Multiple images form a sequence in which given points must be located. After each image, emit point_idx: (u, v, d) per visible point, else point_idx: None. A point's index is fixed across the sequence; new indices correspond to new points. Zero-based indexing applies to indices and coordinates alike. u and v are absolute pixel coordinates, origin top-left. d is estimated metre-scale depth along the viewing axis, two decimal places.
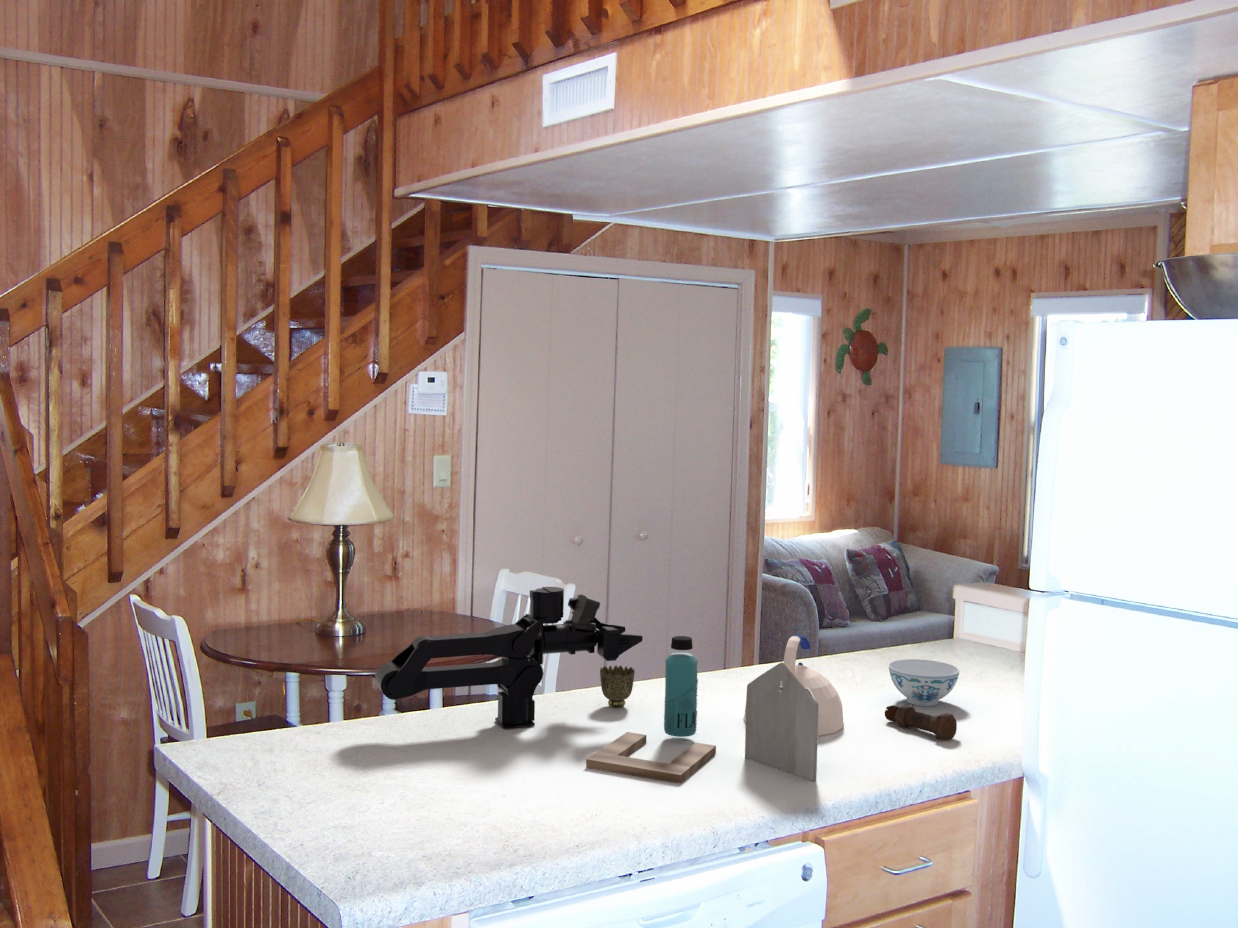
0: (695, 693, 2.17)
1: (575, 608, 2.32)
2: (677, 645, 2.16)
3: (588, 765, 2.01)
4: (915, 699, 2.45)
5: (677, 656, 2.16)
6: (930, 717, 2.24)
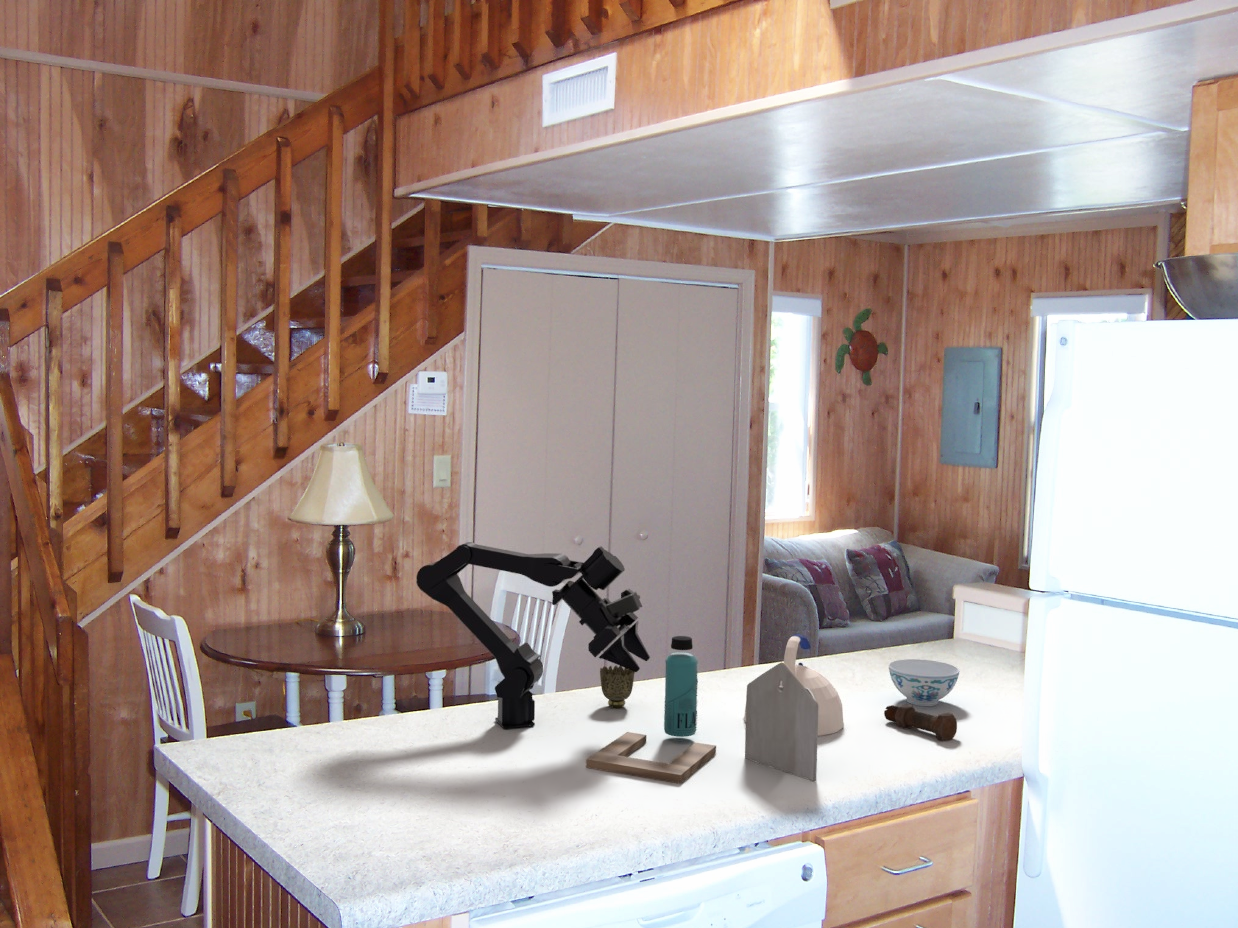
0: (695, 693, 2.17)
1: (621, 597, 2.22)
2: (677, 645, 2.16)
3: (588, 765, 2.01)
4: (915, 699, 2.45)
5: (677, 656, 2.16)
6: (930, 717, 2.24)
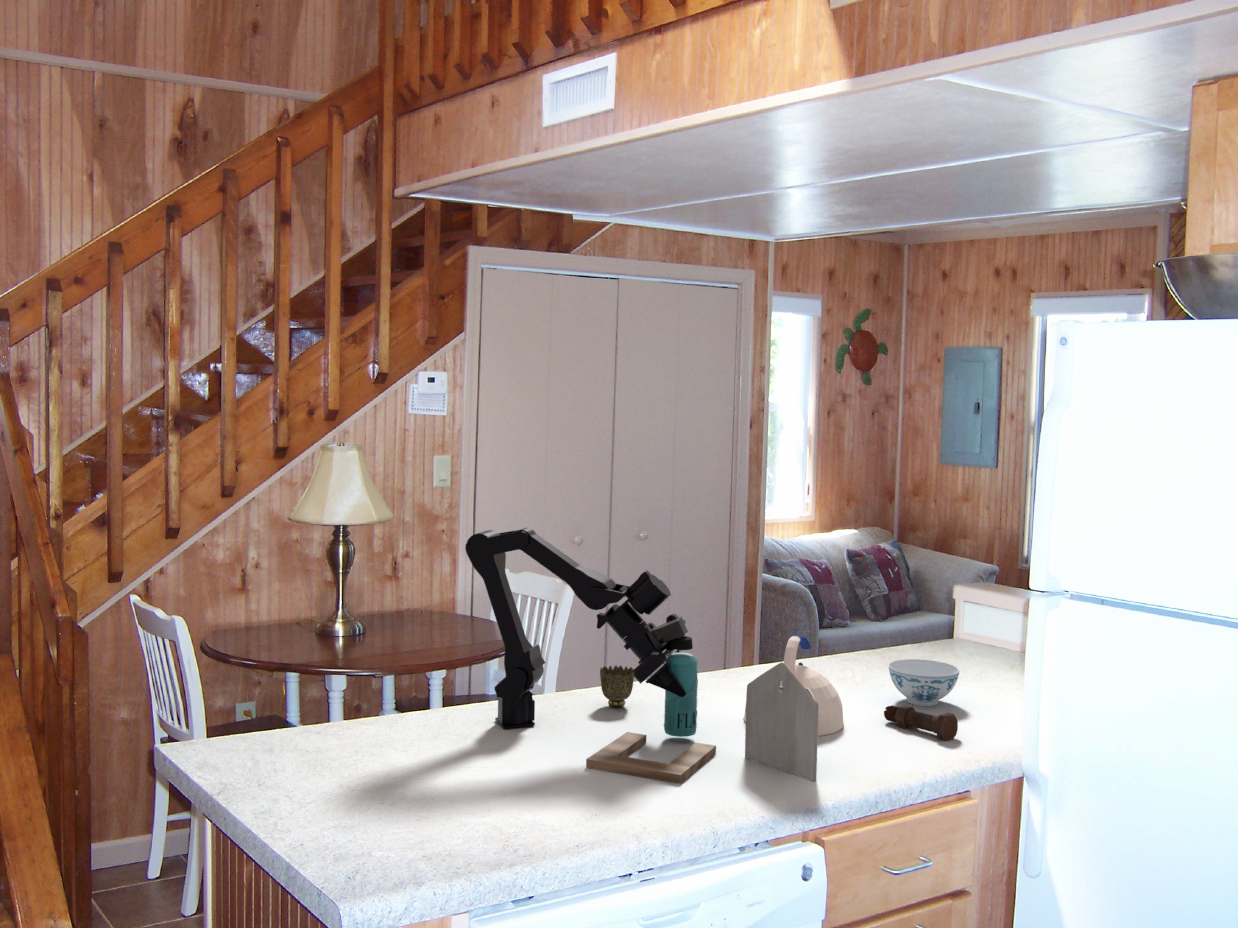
0: (695, 693, 2.17)
1: (667, 622, 2.20)
2: (677, 645, 2.16)
3: (588, 765, 2.01)
4: (915, 699, 2.45)
5: (677, 656, 2.16)
6: (931, 717, 2.24)
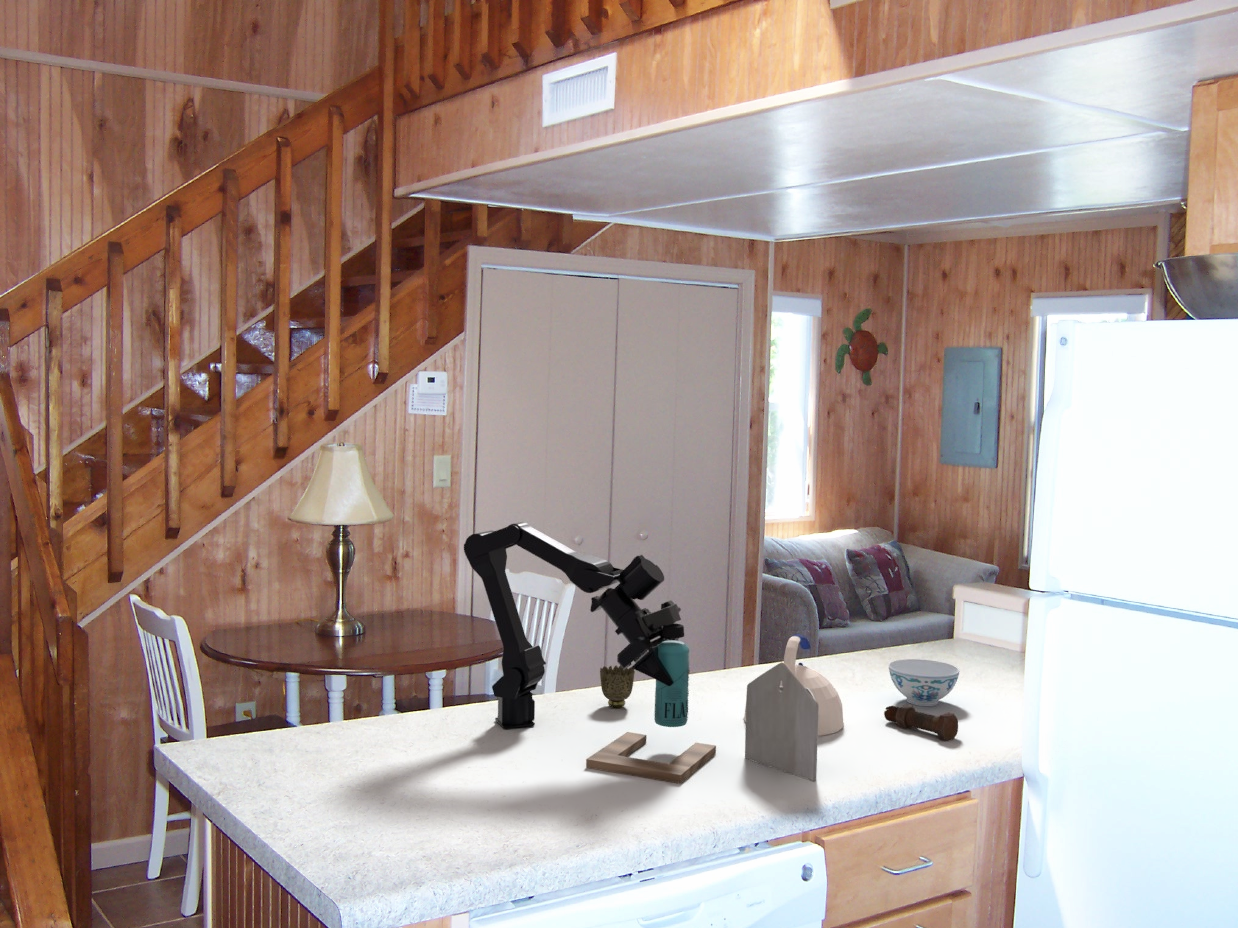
0: (685, 683, 2.10)
1: (661, 609, 2.14)
2: (667, 633, 2.10)
3: (588, 765, 2.01)
4: (915, 699, 2.45)
5: (667, 644, 2.10)
6: (932, 717, 2.24)
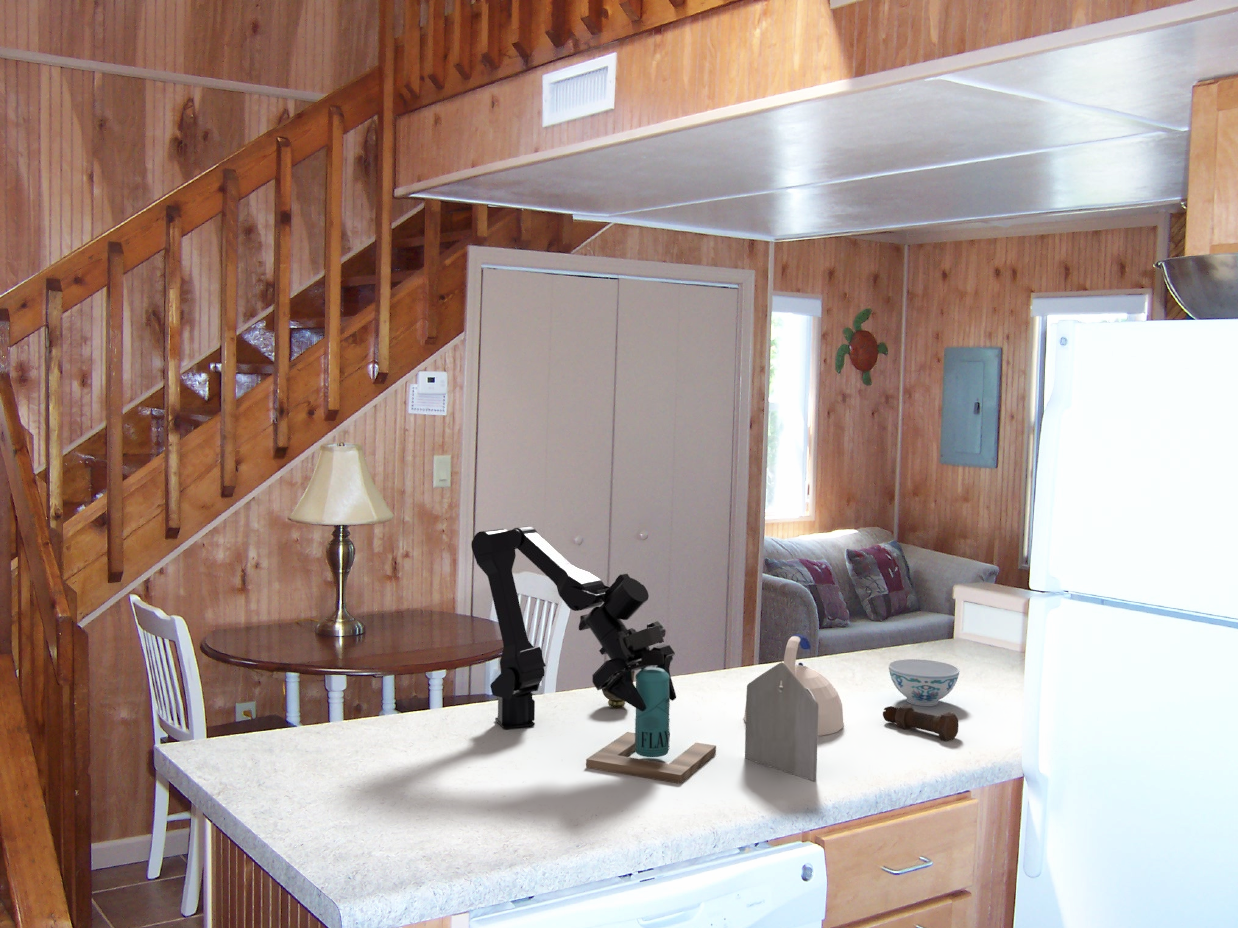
0: (663, 712, 2.03)
1: None
2: (644, 660, 2.04)
3: (588, 765, 2.01)
4: (915, 699, 2.45)
5: (645, 671, 2.04)
6: (932, 717, 2.24)
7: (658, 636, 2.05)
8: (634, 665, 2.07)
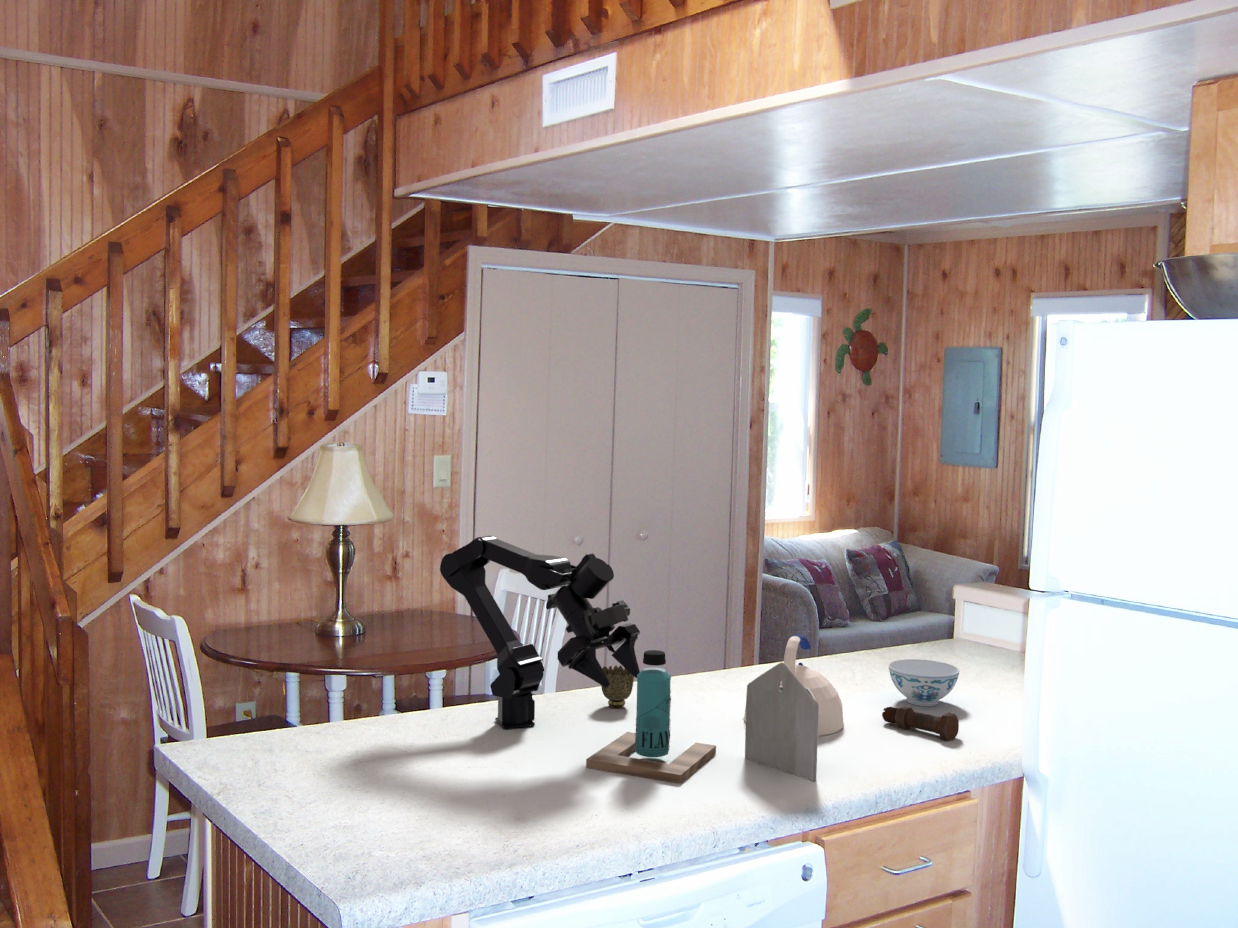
0: (664, 712, 2.03)
1: None
2: (646, 660, 2.04)
3: (588, 765, 2.01)
4: (915, 699, 2.45)
5: (647, 671, 2.04)
6: (932, 717, 2.24)
7: (622, 614, 2.10)
8: (599, 643, 2.12)
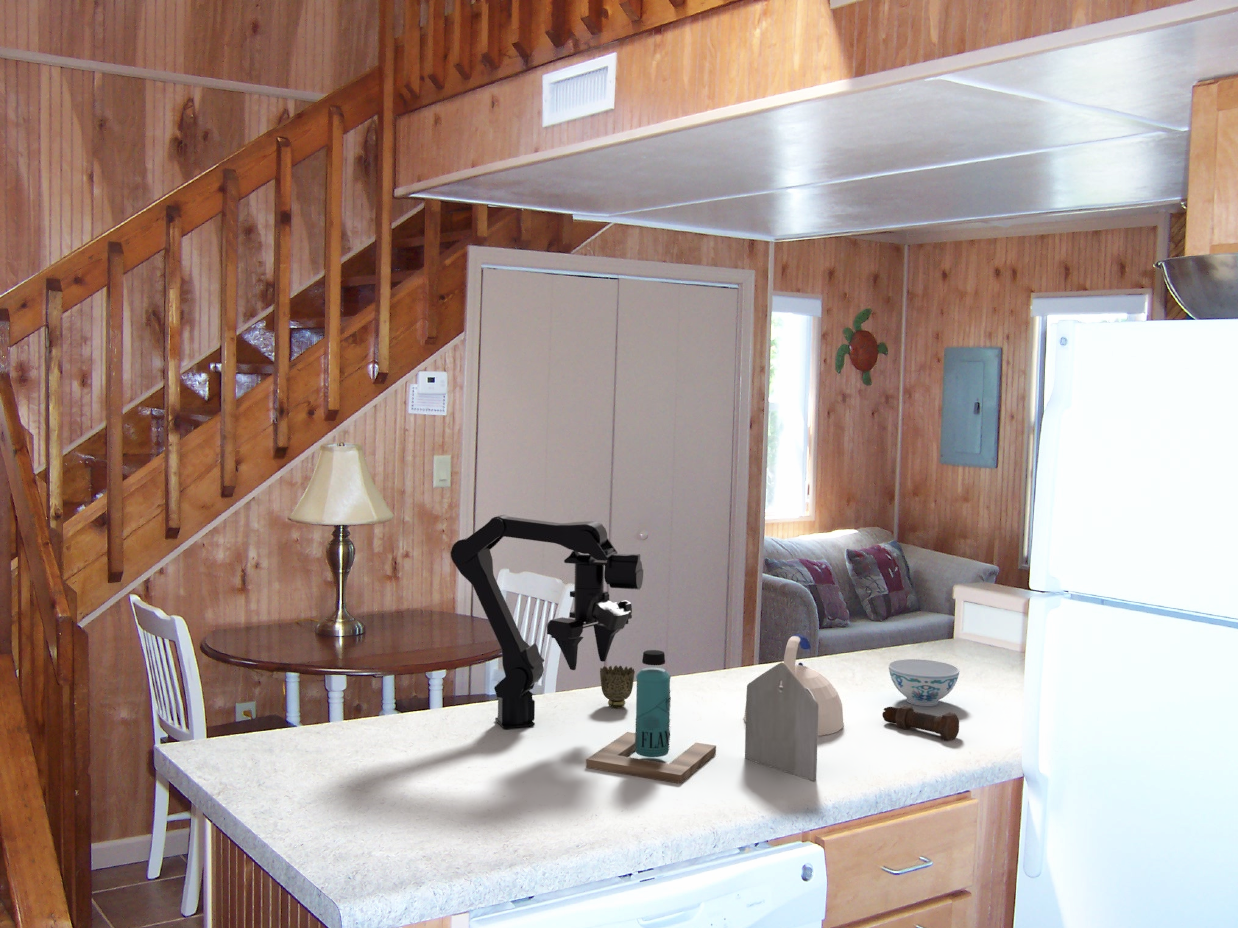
0: (664, 712, 2.03)
1: (616, 605, 2.19)
2: (645, 659, 2.04)
3: (588, 765, 2.01)
4: (915, 699, 2.45)
5: (646, 671, 2.05)
6: (933, 717, 2.24)
7: (622, 623, 2.17)
8: None
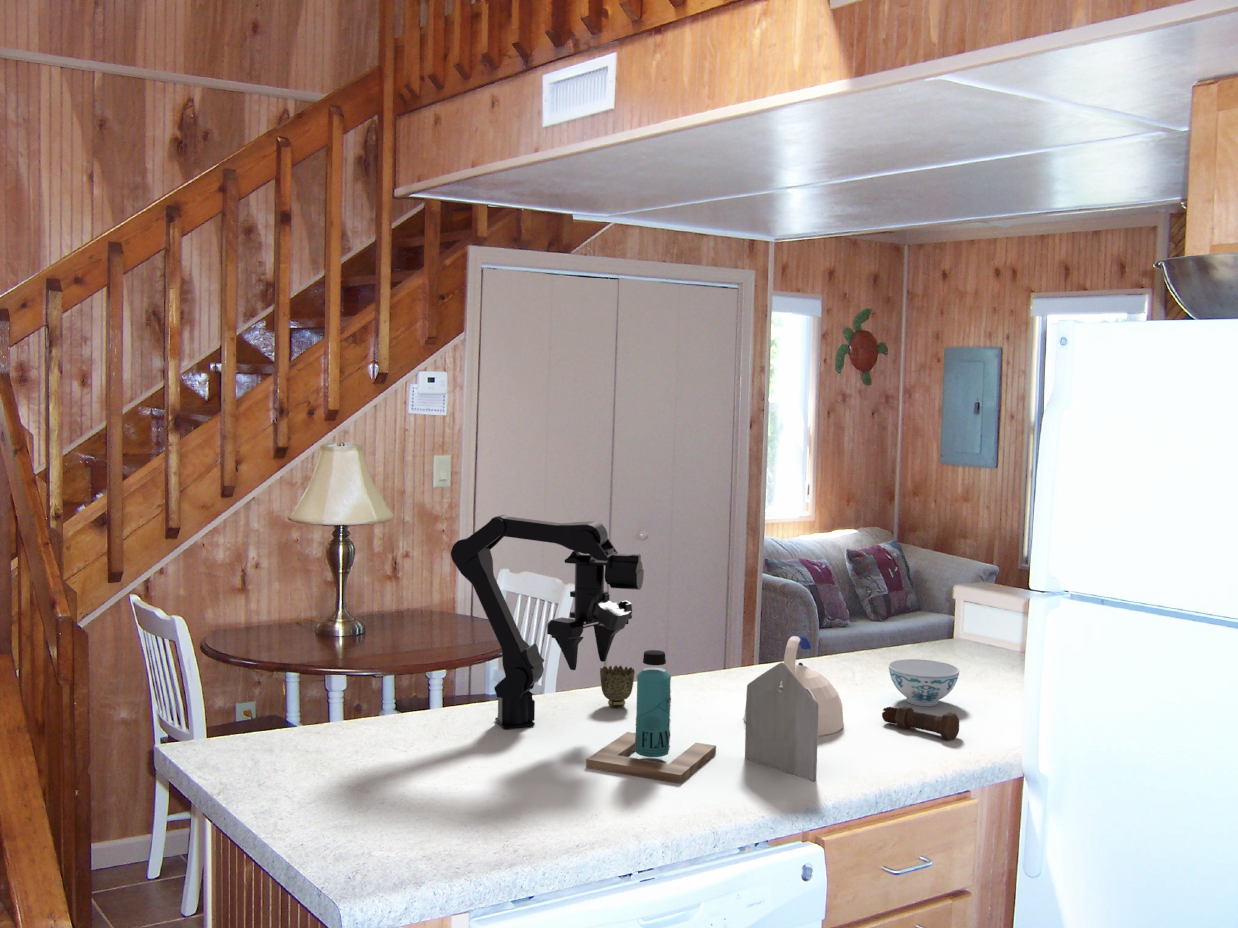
0: (664, 712, 2.03)
1: (617, 606, 2.19)
2: (646, 659, 2.04)
3: (588, 765, 2.01)
4: (915, 699, 2.45)
5: (647, 671, 2.05)
6: (933, 717, 2.24)
7: (622, 623, 2.17)
8: None
